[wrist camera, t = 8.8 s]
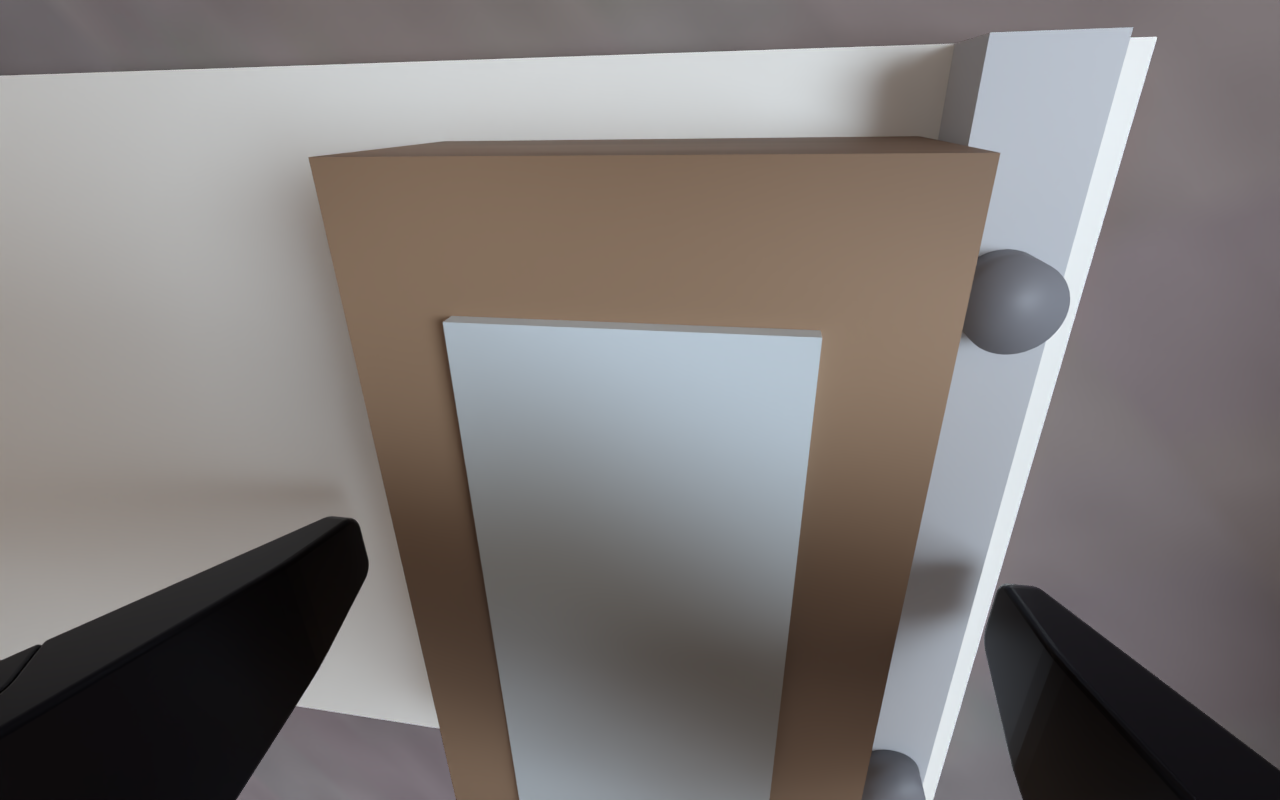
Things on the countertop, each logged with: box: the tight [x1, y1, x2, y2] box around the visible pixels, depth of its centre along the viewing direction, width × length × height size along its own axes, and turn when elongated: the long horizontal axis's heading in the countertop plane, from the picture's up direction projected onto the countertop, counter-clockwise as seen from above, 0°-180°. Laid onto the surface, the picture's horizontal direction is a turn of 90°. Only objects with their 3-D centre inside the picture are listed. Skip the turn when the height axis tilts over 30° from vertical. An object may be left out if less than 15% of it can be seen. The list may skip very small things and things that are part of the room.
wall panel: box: [0, 27, 1157, 800], centre depth 11 cm, size 13×24×2 cm, turn 91°
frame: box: [308, 136, 1000, 800], centre depth 9 cm, size 11×6×3 cm, turn 1°
